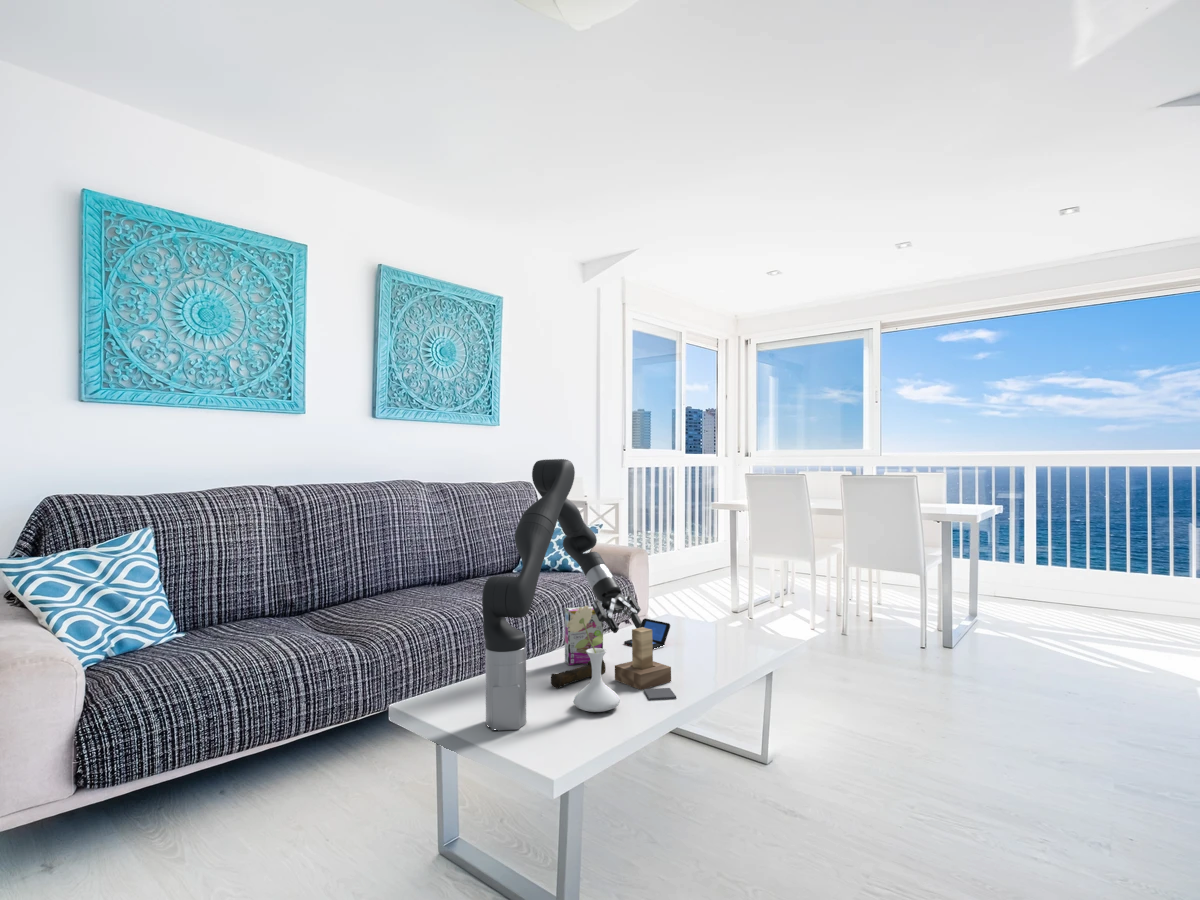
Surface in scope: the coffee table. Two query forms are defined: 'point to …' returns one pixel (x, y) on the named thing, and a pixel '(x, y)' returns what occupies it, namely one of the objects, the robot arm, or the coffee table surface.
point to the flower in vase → (596, 691)
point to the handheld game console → (655, 632)
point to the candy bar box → (580, 638)
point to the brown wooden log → (574, 675)
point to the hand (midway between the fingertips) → (628, 629)
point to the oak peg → (642, 648)
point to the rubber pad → (659, 693)
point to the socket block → (642, 675)
